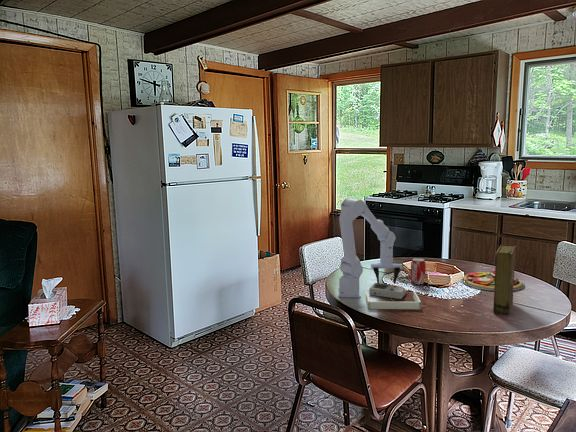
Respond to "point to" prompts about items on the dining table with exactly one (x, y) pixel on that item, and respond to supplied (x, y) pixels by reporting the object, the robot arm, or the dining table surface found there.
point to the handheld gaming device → (387, 290)
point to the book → (504, 279)
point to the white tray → (393, 303)
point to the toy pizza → (486, 281)
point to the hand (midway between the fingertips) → (386, 283)
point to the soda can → (418, 270)
